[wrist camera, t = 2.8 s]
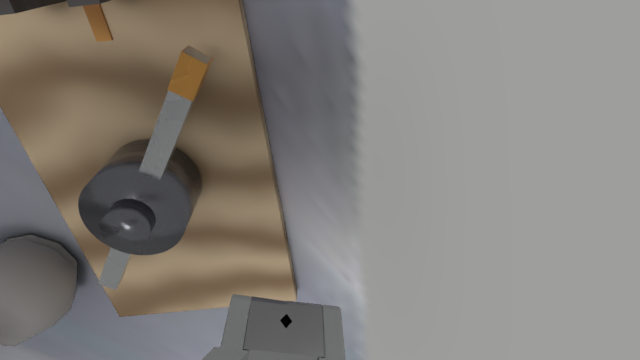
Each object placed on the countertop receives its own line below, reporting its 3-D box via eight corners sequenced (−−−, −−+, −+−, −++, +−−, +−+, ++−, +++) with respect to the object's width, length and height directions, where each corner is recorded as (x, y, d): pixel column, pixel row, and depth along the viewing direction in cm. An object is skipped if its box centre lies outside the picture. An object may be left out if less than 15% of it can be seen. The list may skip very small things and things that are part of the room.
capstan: (168, 261, 35) (142, 321, 29) (87, 233, 33) (44, 291, 27) (261, 66, 26) (249, 99, 20) (158, 11, 24) (114, 32, 18)
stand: (296, 289, 40) (295, 345, 34) (125, 304, 40) (96, 362, 35) (229, -67, 23) (205, -70, 18) (-58, -33, 24) (-168, -25, 18)
